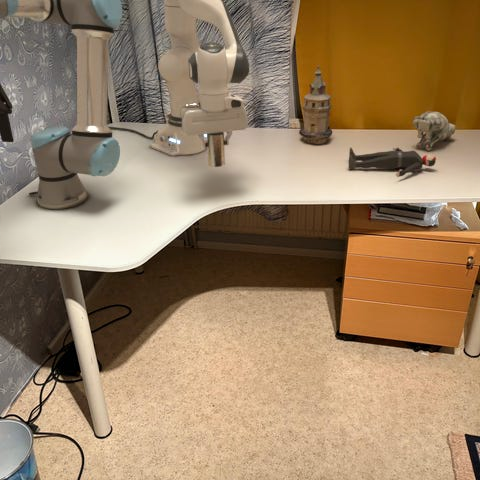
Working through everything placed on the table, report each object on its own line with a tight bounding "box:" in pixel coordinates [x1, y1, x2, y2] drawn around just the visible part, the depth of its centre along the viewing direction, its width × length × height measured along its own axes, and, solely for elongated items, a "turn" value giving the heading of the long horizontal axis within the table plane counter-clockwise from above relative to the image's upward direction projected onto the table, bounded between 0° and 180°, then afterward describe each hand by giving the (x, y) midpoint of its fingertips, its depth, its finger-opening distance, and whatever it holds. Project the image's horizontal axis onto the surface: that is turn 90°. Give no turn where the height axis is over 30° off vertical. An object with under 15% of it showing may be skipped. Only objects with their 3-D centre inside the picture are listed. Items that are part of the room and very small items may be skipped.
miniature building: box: [298, 65, 333, 145], centre depth 213 cm, size 13×14×30 cm
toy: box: [348, 146, 437, 178], centre depth 192 cm, size 26×6×30 cm
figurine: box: [412, 111, 456, 152], centre depth 210 cm, size 10×19×20 cm
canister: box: [206, 132, 226, 168], centre depth 166 cm, size 5×5×10 cm
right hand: (215, 145), depth 166 cm, fingers closed on canister, 5 cm apart
